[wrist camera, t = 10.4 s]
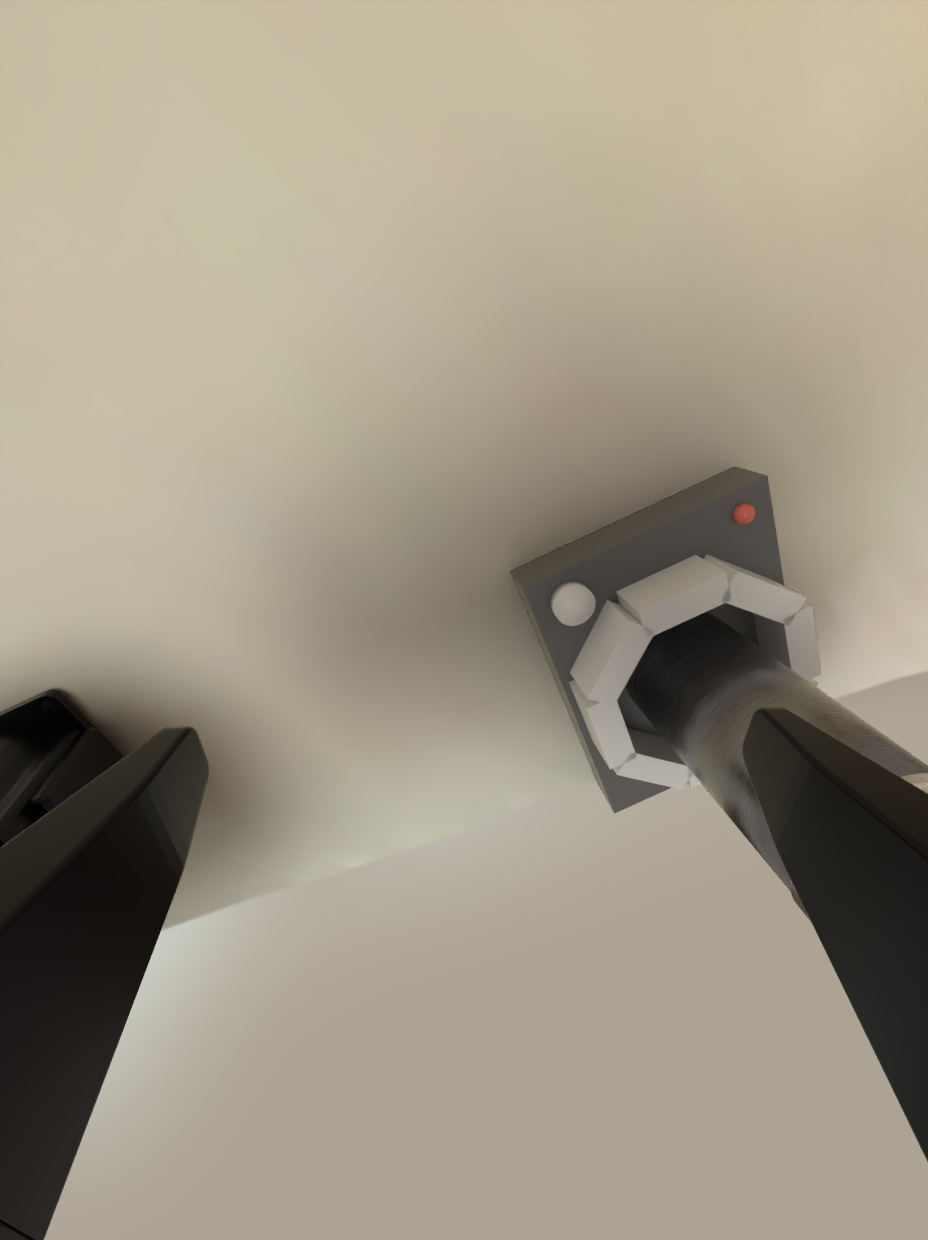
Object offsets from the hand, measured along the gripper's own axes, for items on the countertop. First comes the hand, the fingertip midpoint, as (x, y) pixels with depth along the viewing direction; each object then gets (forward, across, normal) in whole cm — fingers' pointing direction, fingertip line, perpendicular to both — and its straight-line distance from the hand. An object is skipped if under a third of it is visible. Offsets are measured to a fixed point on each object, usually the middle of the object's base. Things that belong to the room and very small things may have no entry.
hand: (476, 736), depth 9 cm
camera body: (+14, -9, +8) cm, 19 cm away
